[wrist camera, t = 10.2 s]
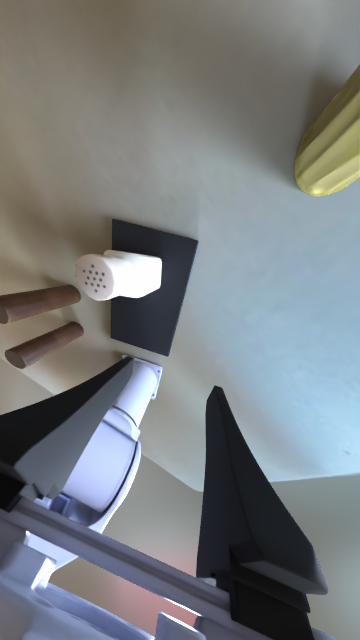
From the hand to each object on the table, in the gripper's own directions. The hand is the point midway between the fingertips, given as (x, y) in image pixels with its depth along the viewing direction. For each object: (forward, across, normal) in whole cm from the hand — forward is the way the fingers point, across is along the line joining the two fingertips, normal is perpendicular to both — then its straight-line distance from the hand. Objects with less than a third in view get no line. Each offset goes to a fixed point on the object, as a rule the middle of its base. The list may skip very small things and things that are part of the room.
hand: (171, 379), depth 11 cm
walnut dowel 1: (+10, +20, +1) cm, 23 cm away
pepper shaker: (+10, +7, -6) cm, 14 cm away
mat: (+10, +7, -2) cm, 13 cm away
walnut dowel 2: (+10, +20, +8) cm, 24 cm away
